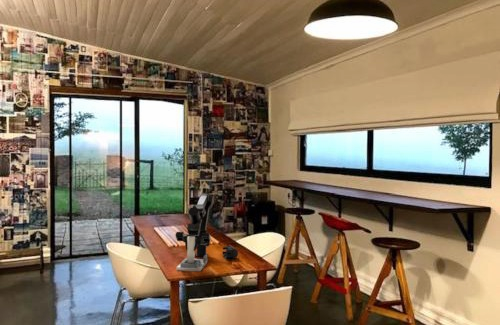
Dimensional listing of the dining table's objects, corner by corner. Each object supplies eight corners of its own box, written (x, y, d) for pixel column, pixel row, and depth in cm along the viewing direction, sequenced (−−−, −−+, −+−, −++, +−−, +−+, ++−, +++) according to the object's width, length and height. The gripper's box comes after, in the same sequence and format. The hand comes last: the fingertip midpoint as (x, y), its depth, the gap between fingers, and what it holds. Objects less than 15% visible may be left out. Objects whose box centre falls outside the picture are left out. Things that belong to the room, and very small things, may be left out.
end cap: (238, 259, 241) (238, 248, 241) (226, 260, 239) (226, 249, 239) (233, 255, 251) (233, 244, 251) (222, 256, 249) (222, 245, 248)
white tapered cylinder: (193, 261, 224) (194, 235, 224) (195, 263, 220) (195, 237, 220) (186, 261, 223) (186, 236, 223) (187, 263, 219) (188, 237, 219)
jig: (185, 260, 236) (185, 253, 236) (207, 261, 235) (207, 254, 235) (176, 270, 217) (176, 261, 217) (200, 271, 216) (200, 262, 216)
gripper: (176, 217, 226) (170, 241, 215) (209, 218, 224) (205, 242, 213) (180, 228, 234) (174, 252, 223) (212, 229, 232) (208, 254, 221)
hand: (190, 250), depth 220 cm, fingers closed on white tapered cylinder, 4 cm apart
